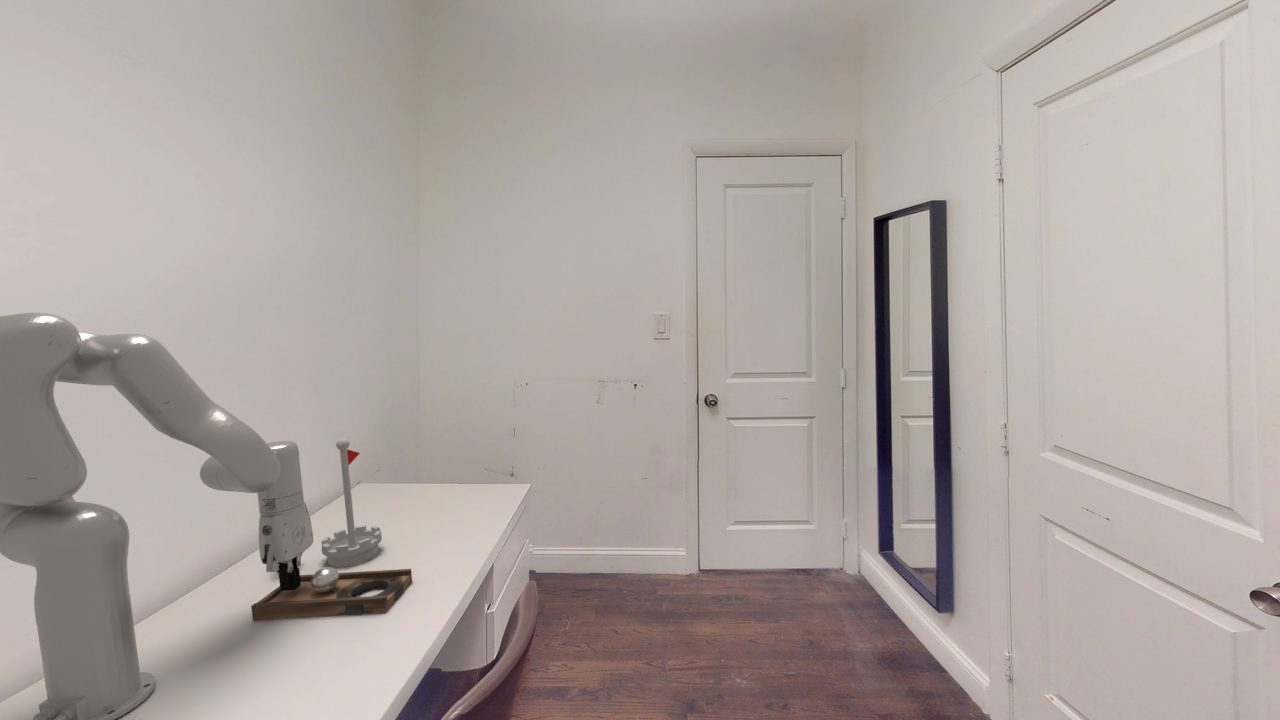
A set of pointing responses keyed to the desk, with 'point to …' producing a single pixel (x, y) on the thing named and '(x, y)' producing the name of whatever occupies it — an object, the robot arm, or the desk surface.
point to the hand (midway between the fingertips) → (290, 588)
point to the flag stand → (350, 525)
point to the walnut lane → (335, 596)
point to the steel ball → (325, 580)
